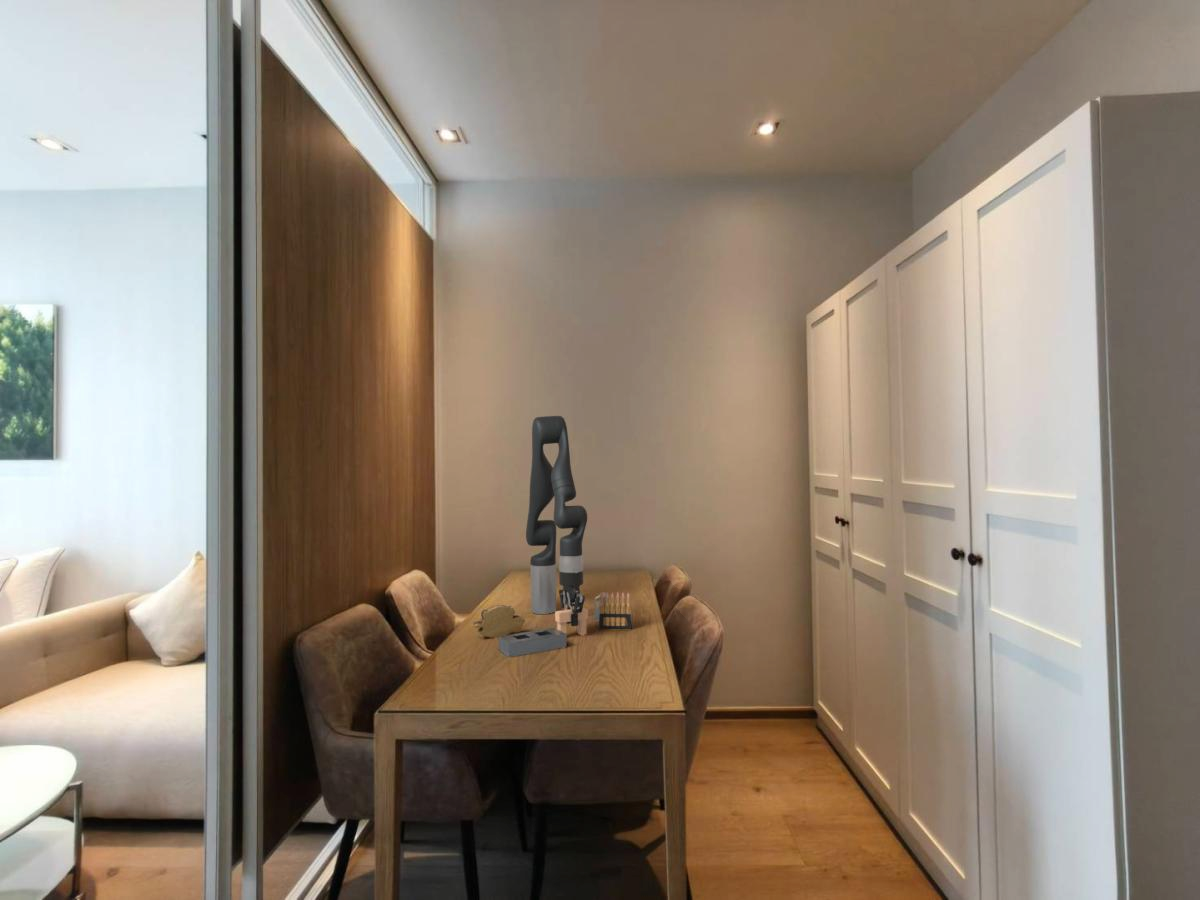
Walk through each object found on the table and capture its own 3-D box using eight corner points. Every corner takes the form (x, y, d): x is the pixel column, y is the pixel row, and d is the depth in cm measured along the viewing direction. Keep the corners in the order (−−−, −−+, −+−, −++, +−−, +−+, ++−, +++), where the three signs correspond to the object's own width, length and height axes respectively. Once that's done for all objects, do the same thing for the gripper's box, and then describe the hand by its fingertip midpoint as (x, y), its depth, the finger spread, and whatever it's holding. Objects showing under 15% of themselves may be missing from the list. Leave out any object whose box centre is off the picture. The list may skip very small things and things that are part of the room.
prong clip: (555, 637, 200) (555, 611, 200) (583, 632, 205) (583, 607, 205) (559, 639, 197) (559, 613, 197) (588, 634, 202) (587, 609, 202)
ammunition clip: (632, 628, 209) (631, 591, 209) (631, 629, 207) (631, 592, 207) (599, 627, 210) (599, 591, 210) (598, 629, 208) (598, 592, 209)
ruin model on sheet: (603, 622, 219) (602, 593, 219) (594, 622, 219) (594, 593, 219) (609, 614, 230) (609, 587, 230) (601, 614, 230) (600, 587, 231)
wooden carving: (519, 631, 207) (519, 600, 208) (525, 634, 204) (525, 602, 204) (471, 639, 199) (471, 607, 199) (477, 642, 195) (476, 609, 195)
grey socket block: (498, 650, 187) (498, 636, 187) (554, 640, 196) (554, 627, 196) (509, 657, 180) (508, 643, 180) (566, 647, 189) (566, 633, 189)
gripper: (550, 567, 205) (551, 621, 205) (570, 573, 193) (571, 631, 193) (571, 565, 209) (572, 618, 209) (592, 571, 197) (593, 627, 197)
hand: (571, 624), depth 201 cm, fingers closed on prong clip, 3 cm apart
